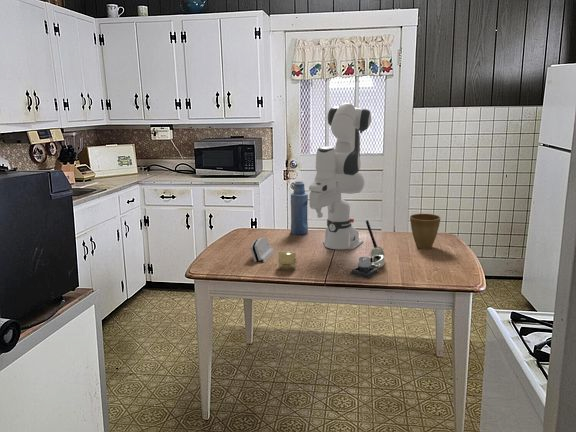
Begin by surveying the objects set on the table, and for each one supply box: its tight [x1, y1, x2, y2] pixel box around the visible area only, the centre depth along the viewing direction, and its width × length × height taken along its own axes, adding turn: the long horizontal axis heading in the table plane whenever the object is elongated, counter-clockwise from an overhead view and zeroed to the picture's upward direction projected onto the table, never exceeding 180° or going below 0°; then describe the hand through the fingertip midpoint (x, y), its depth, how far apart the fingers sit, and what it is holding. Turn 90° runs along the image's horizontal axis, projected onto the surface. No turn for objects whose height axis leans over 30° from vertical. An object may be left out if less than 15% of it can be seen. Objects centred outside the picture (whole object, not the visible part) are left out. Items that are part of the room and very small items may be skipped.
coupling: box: [357, 256, 371, 273], centre depth 211 cm, size 6×6×6 cm
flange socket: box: [349, 266, 380, 280], centre depth 212 cm, size 9×9×2 cm
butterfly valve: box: [365, 220, 386, 269], centre depth 221 cm, size 9×20×17 cm
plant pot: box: [409, 213, 441, 250], centre depth 246 cm, size 15×15×16 cm
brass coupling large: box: [277, 250, 297, 272], centre depth 220 cm, size 8×8×7 cm
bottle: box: [290, 180, 309, 236], centre depth 275 cm, size 10×10×30 cm
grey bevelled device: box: [250, 237, 275, 263], centre depth 237 cm, size 17×5×10 cm, turn 164°
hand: (326, 215), depth 215 cm, fingers open, 8 cm apart
